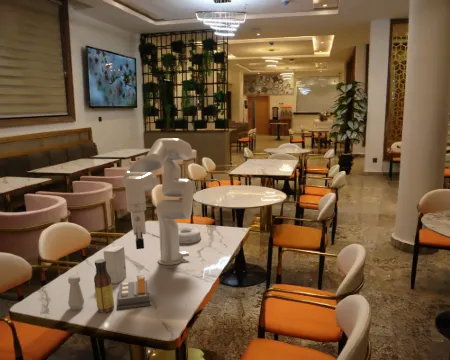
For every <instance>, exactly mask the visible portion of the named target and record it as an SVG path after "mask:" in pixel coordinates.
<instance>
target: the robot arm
mask: <svg viewBox="0 0 450 360" xmlns="http://www.w3.org/2000/svg"><path fill="white" fill-rule="evenodd" d="M192 154H193V149H192V145H191V144H190V143H189V142H188V141H185V140H183V139H181V138H174V137H172V138H158V139H157V140H155V141H154V142H153V144H152V146H151V148H150V149H149V151H148V152H147V154H146V155H145V156H143V157H141V158H139V159H137V160H135V161H134V162H131V164H130V165H129V166H128V168H127V169H126V170H125V172H124V175H123V176H122V186H123V187H124V188H125V197H126V207H127V209H126V210H127V212H129V213H130V217H131V218H130V219H131V225H132V227H131V228H132V230H133V236H135V249H136V250H142V249H145V241H144V237H143V235H146V234H147V231H146V230H147V229H146V217H145V211H146V210H147V201H146V200H147V199H146V192H148V191H152V190H153V189H155V188H156V187H157V185H158V177H157V175H156V174H155V173H154V171H157V170H160V169H161V168H162V167H163V177H162V184H161V185H162V186H161V194H162V196H163V197H167V198H177V199H162V200H160V201H158V202H157V203H156V207H155V211H156V214H157V215H156V216H157V219H158V228H159V230H158V231H159V247H160V248H159V249H160V250H159V251H160V256H159V257H158V258H157V263H158V264H160V265H163V266H173V265H174V266H175V265H178V264H180V263H182V262H183V260H184V257H190V253H189V252H188V251H187V252H186V251H181V250H180V243H179V228H178V227H179V225H178V222H177V220H184V221H185V220H188V219H190V218H191V217H192V216H191V215H192V212H193V205H194V204H193V203H194V202H193V201H194V193H195V187H194V182H193V180H191V179H189V178H181V174H182V173H181V172H182V171H181V170H182V169H181V167H180V165H179V164H178V163H177V161H187V160H189V159H191V157H192ZM178 198H179V199H178ZM181 198H182V199H181Z"/></svg>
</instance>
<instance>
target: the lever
mask: <svg viewBox="0 0 450 360" xmlns="http://www.w3.org/2000/svg"><path fill="white" fill-rule="evenodd" d="M145 278H146V275H145V274H143V275H136V280H137V282H138V294H139V293H145V280H146V279H145Z"/></svg>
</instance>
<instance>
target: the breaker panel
mask: <svg viewBox="0 0 450 360" xmlns="http://www.w3.org/2000/svg"><path fill="white" fill-rule="evenodd" d="M149 283H150V282H149V280H147V279H145V293H139V294H138V282H137V281H136V280H135V281H128V282H121V283H120V282H119V289H118V305H124V304H132V303H140V302H148V301H150V302H151V296H150V295H151V294H150V285H149Z"/></svg>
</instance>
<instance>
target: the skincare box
mask: <svg viewBox="0 0 450 360" xmlns="http://www.w3.org/2000/svg"><path fill="white" fill-rule="evenodd" d="M103 259H105V260H106V269H107V273H108V274H109V276H110V278H111V283H112V284H115V285H117V284H119V283H120V282H121V281H122V280H124V279H125V278H127V268H126V255H125V246H123V245H122V246H121V245H113V246H111V247H108V248H107V249H105V250H103Z"/></svg>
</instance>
